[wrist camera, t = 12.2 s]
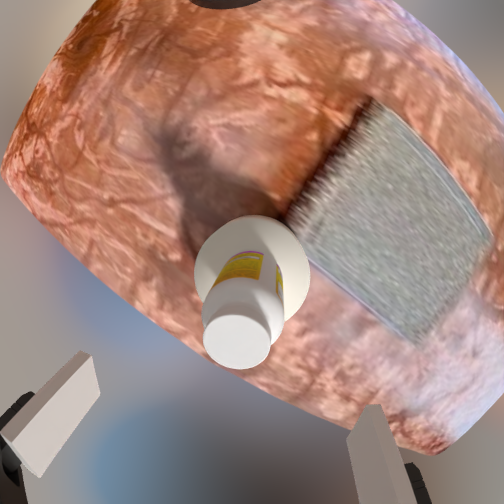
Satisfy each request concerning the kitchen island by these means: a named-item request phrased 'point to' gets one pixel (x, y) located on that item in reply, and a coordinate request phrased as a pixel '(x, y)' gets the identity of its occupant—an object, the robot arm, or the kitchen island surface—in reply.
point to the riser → (262, 239)
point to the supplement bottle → (244, 310)
